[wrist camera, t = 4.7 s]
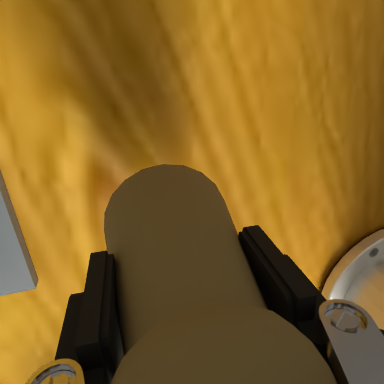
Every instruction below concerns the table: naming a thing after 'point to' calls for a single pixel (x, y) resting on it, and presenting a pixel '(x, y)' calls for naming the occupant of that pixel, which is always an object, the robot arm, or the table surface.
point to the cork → (194, 291)
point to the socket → (13, 251)
